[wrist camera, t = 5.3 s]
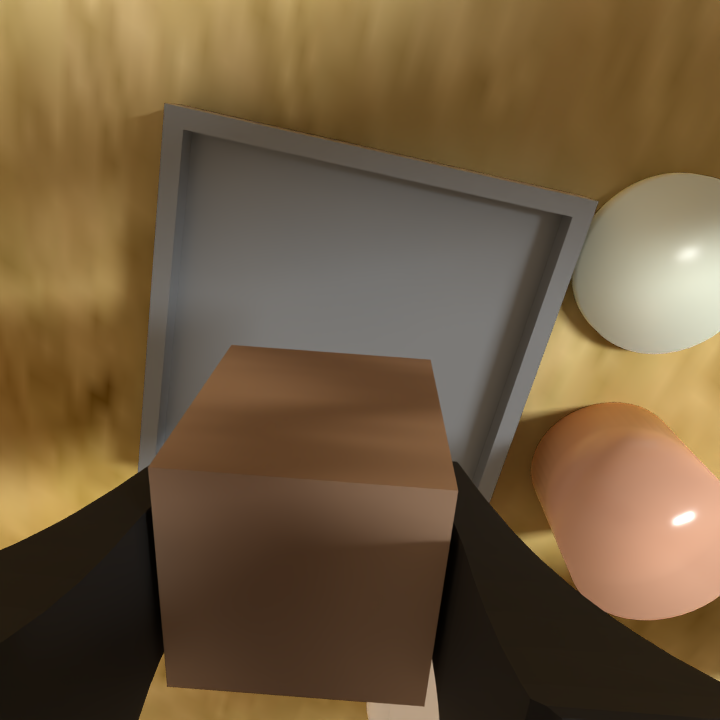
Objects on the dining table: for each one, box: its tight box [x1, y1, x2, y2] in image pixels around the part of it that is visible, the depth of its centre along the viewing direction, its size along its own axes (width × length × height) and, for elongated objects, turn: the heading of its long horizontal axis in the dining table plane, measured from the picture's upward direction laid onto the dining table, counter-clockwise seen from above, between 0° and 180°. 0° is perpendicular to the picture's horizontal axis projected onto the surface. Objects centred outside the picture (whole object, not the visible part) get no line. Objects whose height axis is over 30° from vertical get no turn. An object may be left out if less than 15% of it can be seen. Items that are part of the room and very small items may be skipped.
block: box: [148, 345, 458, 707], centre depth 11 cm, size 4×4×5 cm
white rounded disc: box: [571, 172, 720, 354], centre depth 19 cm, size 6×6×1 cm
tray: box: [138, 103, 598, 503], centre depth 20 cm, size 13×13×2 cm
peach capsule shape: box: [531, 402, 720, 620], centre depth 20 cm, size 6×6×5 cm
